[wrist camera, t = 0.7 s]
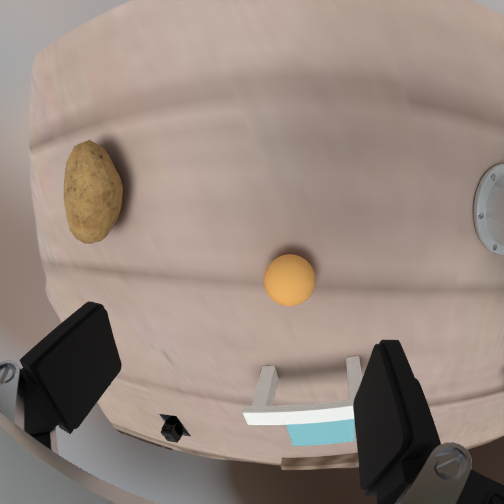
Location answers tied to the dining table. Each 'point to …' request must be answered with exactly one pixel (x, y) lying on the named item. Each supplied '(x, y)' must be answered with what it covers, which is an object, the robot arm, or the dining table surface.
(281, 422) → the bridge
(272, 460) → the dining table surface
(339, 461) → the stopper
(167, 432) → the black angular piece
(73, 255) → the dining table surface
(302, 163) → the dining table surface
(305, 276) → the ball
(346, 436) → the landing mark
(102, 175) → the potato
